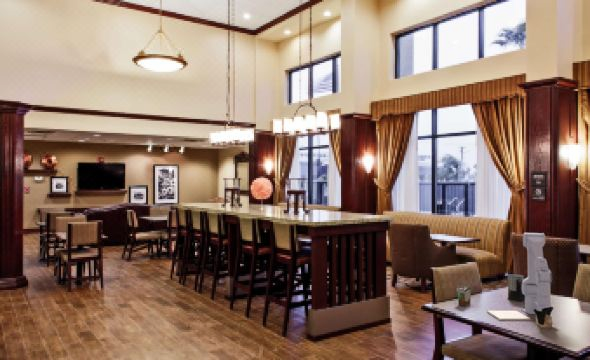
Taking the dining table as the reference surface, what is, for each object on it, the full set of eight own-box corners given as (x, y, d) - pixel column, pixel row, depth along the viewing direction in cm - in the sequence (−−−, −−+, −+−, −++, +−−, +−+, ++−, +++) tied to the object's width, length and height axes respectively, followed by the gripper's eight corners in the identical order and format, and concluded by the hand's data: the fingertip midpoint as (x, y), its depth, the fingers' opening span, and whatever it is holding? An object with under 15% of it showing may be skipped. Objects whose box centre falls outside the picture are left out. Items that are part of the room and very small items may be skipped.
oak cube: (545, 323, 215) (545, 313, 215) (551, 327, 210) (551, 317, 210) (535, 324, 214) (535, 314, 215) (541, 327, 209) (541, 317, 210)
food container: (460, 301, 256) (460, 284, 256) (471, 303, 252) (471, 286, 253) (453, 305, 247) (453, 288, 247) (464, 307, 243) (464, 290, 243)
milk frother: (503, 298, 263) (503, 274, 263) (524, 296, 267) (524, 272, 268) (522, 304, 249) (522, 279, 250) (543, 302, 254) (543, 277, 254)
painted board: (516, 312, 234) (516, 310, 234) (530, 320, 220) (530, 318, 220) (487, 312, 234) (487, 310, 234) (499, 320, 220) (499, 318, 220)
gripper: (539, 291, 220) (539, 317, 220) (529, 296, 210) (529, 324, 210) (555, 293, 215) (555, 320, 215) (545, 298, 205) (545, 327, 205)
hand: (543, 322), depth 212 cm, fingers closed on oak cube, 7 cm apart
